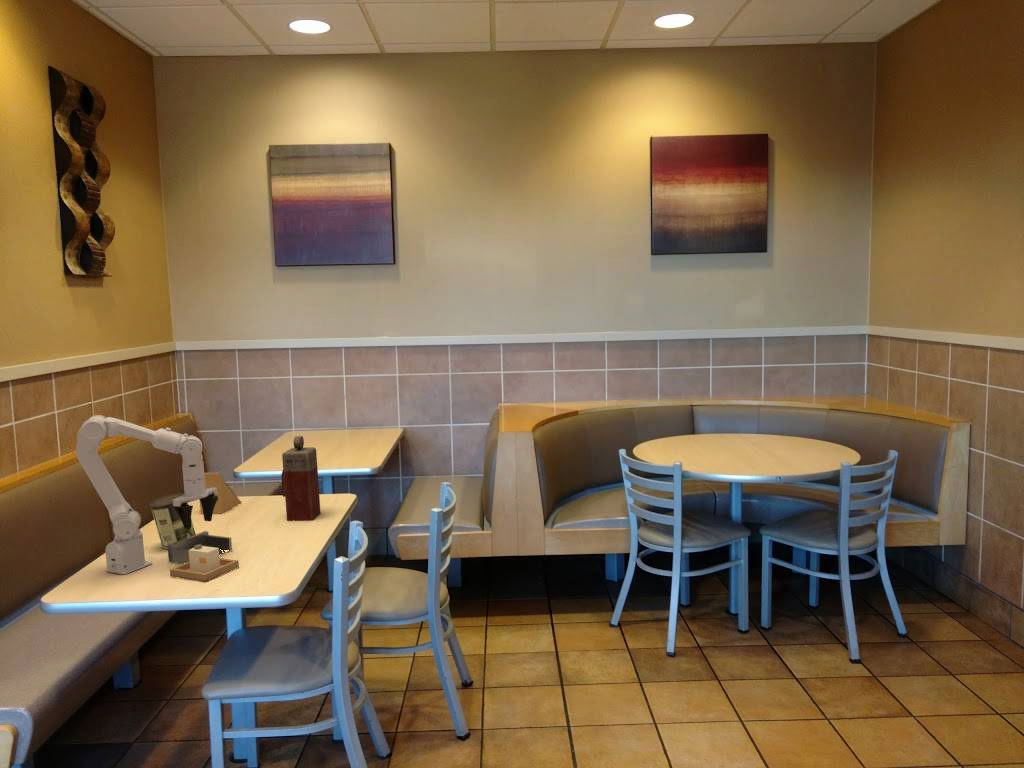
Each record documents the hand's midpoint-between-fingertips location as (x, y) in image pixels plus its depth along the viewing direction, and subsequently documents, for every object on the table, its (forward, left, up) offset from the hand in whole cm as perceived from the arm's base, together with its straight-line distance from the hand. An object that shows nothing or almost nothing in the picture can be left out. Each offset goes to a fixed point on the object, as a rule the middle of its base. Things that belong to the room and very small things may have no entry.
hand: (198, 524), depth 231 cm
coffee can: (+7, +17, -9) cm, 20 cm away
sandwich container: (+45, +36, -10) cm, 59 cm away
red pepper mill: (+44, 0, -10) cm, 45 cm away
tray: (-9, -11, -10) cm, 17 cm away
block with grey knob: (-9, -11, -9) cm, 17 cm away
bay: (+1, +1, -10) cm, 10 cm away
